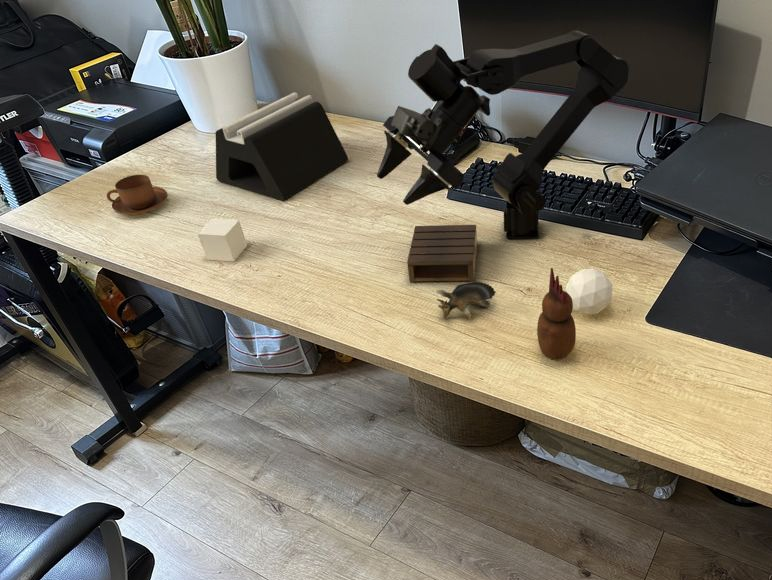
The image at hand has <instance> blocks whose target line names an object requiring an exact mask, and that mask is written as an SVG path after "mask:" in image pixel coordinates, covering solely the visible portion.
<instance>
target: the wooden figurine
mask: <svg viewBox="0 0 772 580" xmlns="http://www.w3.org/2000/svg"><path fill="white" fill-rule="evenodd" d="M541 311H542V312H541V313H540V314H539V316H538V320H537V325H536V327H537V328H536V334H537V341H538V346H539V349H540V351H541V353H542V354H543V355H544V356H545V357H546V358H548V359H550V360H554V361H559V360H562V359H566V358H567V357H568V356H569V355H570V354H571V353H572V351H573V349H574V348H575V344H576V339H577V337H576V335H577V331H576V329H577V328H576V324H575V319H574V317H573V315H572V314H573V311H574V309H573V302H572V298H571V296H570V295H569V294H568V293H567V292H566V290H563V285H562V284H560V279H559V275H556V276H555V273H554V268H553V267H550V272H549V284H548V292H547V293H546V294H544V295H543V298H542V303H541Z"/></svg>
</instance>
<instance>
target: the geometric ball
mask: <svg viewBox="0 0 772 580" xmlns="http://www.w3.org/2000/svg"><path fill="white" fill-rule="evenodd" d="M565 292H567V293H568V294H569V295H570V296H571V298H572V302H573V311H575V312H579V313H581V314H583V315H597V314H598V313H600V312H602V311H603V310H604V309H606V308H607V307H608V306H609V304H610V302H611V300H612V297H613V283H612V281H611V280H610V278H609V277H608V276H607V274H606V273H605V272H603V271H601V270H599V269H596V268H581V269H580V270H578V271H577V272H575V273H574V274H572V275H571V276H570V278H569V280H568V283H567V284H566V287H565Z"/></svg>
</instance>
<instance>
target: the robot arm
mask: <svg viewBox="0 0 772 580" xmlns="http://www.w3.org/2000/svg"><path fill="white" fill-rule="evenodd" d="M570 63H575V64H576V65H577V66H579V68H580V69H579V70H578V72H577V75H576V79H575V84H574V87H573V90H572V92H571V93H570V94H569V96H567V98H566V99H565V100H564V102H563V103H562V104H561V105H560V107H559V108H558V109H557V110H556V112H555V113H554V114H553V115H552V117H551V118H550V119H549V120H548V122H547V123H546V124H545V125H544V127H543V128H542V129H541V130H540V132H539V133H538V134H537V136H536V137H535V138H534V139H533V140H532V142H531V143H530V144H529V145H528V147H527V148H526V149H525V150H524V151H523V152H521V153H519V154H518V155H515V154H513V153H512V152H509V153H508V154H507V155H505V157H504V159H503V160H502V162H501V163H500V164H499V165H498V166H496V168H495V171H496V172H495V173H494V175H493V176H492V187H493V189H494V191H495V192H496V193H497V194H498V195H499V196H500V197H501V198H502V199H503V200H505V201H506V207H503V231H504V233H505V238H506V239H507V240H523V239H525V240H526V239H532V240H533V239H539V238H540V230H539V227H540V226H539V211H542V210H544V209H545V207H546V203H547V198H546V197H544V196H543V195H542V194H541V193H539V192H538V190H539V188H540V187H541V184H542V179H543V174H544V172H545V171H544V170H545V169H546V168H547V166H548V165H549V164H550V162H552V160H553V158H554V157H556V155H557V154H558V153H559V151H560V150H561V149H562V147H563V146H564V145H565V144H566V142H568V140H569V139H570V138H571V137H572V136H573V134H574V133H575V132H576V130H577V129H578V128H579V127H580V126H581V124H582V123H583V122H584V120H585V119H586V118H587V117H588V116H589V114H590V113H591V112H592V111H593V109H595V108H596V107H597V106H600V105H603V104H604V103H607V102H608V101H610V100H612V99H613V98H614V97H615V96H616V95H617V94H618V93H619V92H620V91H621V90H622V89H623V88H624V87H625V86H626V84H627V83H628V81H629V78H630V77H629V73H630V68H629V65H628V62H627V61H626V60H624V59H623V58H621V57H618V56H615V55H613V54H612V53H611V52H609V51H608V50H607V49H605V47H603V46H602V45H600V44H599V43H598V42H597V41H596V40H595V39H594V37H593V36H592V35H590V34H587V33H585V32H582V31H579V30H571V31H569V32H568V33H566V34H563V35H559V36H556V37H553V38H549V39H545V40H542V41H538V42H535V43H531V44H528V45H524V46H520V47H517V48H511V49H508V48H483V49H482V48H481V49H477V50H475V51H473V52H471V53H470V54H469V56H468V57H465V58H464V57H463V58H461V59H458V60H452V59H451V58H450V56H449V55H448V53H447V52H446V50H445V49H444V48H443V47H442V46H440V45H439V44H437V43H435V44H434V45H433V46H432V47H431V49H427V50H425V51H423V52H422V53H420V54H419V55H417V56H416V57H414V59H413V60H412V62H411V64H410V65H409V67H408V71H407V76H408V78H409V79H410V81H411V82H412V83H414V84H415V85H416V86H417V87H418V89H420V90H421V91H422V92H423V94H425V95H426V96H427V97H428V98H429V99H430V100H431V101H432V102H439V103H438V104H437V106H436V107H435V108H434V110H432V109H431V108H430V107H428V108H426V109H425V110H424V111H423V112H422V113H420V112H418V111H415V110H413V109H409V108H407V107H404V106H400V105H398V106H397V108H396V110H395V112H394V114H393V115H391V116H388V118H386V120H385V121H384V122H383V124H382V126H383V127H384V128H385V129H387V130H384V131H383V133H384V135H385V139H386V148H385V150H384V151H385V152H384V154H383V157H382V160H381V162H380V165H379V168H378V171H377V174H376V177H377V178H378V179H380V180H382V179H384V178H385V177H386V176H388V175H390V173H392V172H393V171H394V170H396V169H397V167H399V166H400V165H401V164H402V163H403V162H405V161H406V160H407V159H408V158H409V157H410V156H411V155H413V153H412V152H411V151H412V150H414V151H415V152H416V153H418V154H419V155H420V156H421V157H422V158H423V159H424V160H425V161H427V166H428V167H429V168H428V167H427V166H426V165H425V164H423V163H422V164H421V172H420V176H419V177H418V178H417V180H416V181H415V183H414V184H413V185H412V187H411V188H410V189H409V190H408V192H407V193H406V195H405V196H404V198H403V200H402V203H403V204H405V205H406V206H408V205H409V206H410V204H412V203H415V202H417V201H419V200H421V199H424V198H426V197H428V196H431V195H433V194H435V193H439V192H441V191H443V190H447V191H449V190H451V187H452V188H453V189H454V190H455V191H457V190H458V189H459V188H460V186H461V185H462V184H463V182H464V176H465V175H464V173H463V172H462V171H460V169H459V168H457V167H456V166H455V165H454V164H453V163H452V162H451V161H449V160H448V159H447V156H446V155H445V154H444V153H445V152H446V151H447V150H448V149H449V147H450V146H451V145H452V144H453V142H454V141H455V142H457V143H458V144H459V143H461V141H462V140H463V137H462V136H461V135H460V134H461V132H462V131H463V130H464V129H465V128H466V127H467V126H468V124H469V123H470V121H472V119H473V118H474V117H475V115H476V114H477V113H478V112H479V111H480V112H481V113H482V114H484V115H485V116H486V117H488V116H490V115H491V107H490V104H491V103H490V102H491V98H489V97H487V96H486V95H484V94H483V95H481V94H479V93H478V92H477V90H476V89H474V88H478V89H479V90H480V91H482V92H484V93H486V94H488V95H491V96H493V95H494V96H495V95H498V94H501V93H503V92H505V91H506V90H508V89H511V88H512V87H514V86H515V85H516V84H517V83H518V82H519V81H520V80H521V79H523V78H524V77H526V76H530V75H533V74H537V73H540V72H543V71H547V70H549V69H554V68H557V67H560V66H563V65H567V64H570ZM462 81H463V82H465V83H467V84H468V85H463V84H462V83H461V82H462ZM407 148H408V149H407ZM409 150H411V151H409ZM428 152H429V153H428ZM450 186H451V187H450Z"/></svg>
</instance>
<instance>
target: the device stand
mask: <svg viewBox="0 0 772 580" xmlns="http://www.w3.org/2000/svg"><path fill="white" fill-rule="evenodd" d="M298 98H299V95H298V93H297V92H291V93H289V94H287V95H286V96H284V97H281V98H280V99H277V100H275V101H274V102H271V103H270V104H267V105H266V106H263V107H261V108H259V109H257V110H255V111H253V112H251V113H249V114H247V115H245V116H243V117H240V118H239V119H237V120H235V121H232V122H231V123H228V124H226V125H224V126H222V127H221V128H219V129H217V130H215V177H216V180H217V181H218V182H219V183H222V184H224V185H228V186H231V187H234V188H238V189H242V190H244V191H248V192H251V193H255V194H257V195H261V196H265V197H267V198H271V199H274V200H277V201H281V202H283V201H286V200H287V199H288V198H290V197H292V196H293V195H295V194H296V193H298V192H299V191H301V190H303V189H304V188H306V187H307V186H309V185H311V184H313V183H314V182H316V181H317V180H319V179H320V178H322V177H324V176H326V175H327V174H329V173H330V172H332V171H333V170H335V169H336V168H339V167H341V165H343V164H344V163H346V162H347V161H349V156H348V154H347V153H346V150H345V149H344V147H343V146H344V145H342V143H341V142H342V141H340V138H339V137H338V134H337V133H336V130H335V129H334V127H333V125H332V122H331V120H330V119H329V116H328V115H327V113H326V111H325V108H324V107H323V105H322V104H321V102H319V101H313V98H312V95H310V94H307V95H305V96H304V97H301V98H299V99H298ZM296 99H298V100H296Z"/></svg>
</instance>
